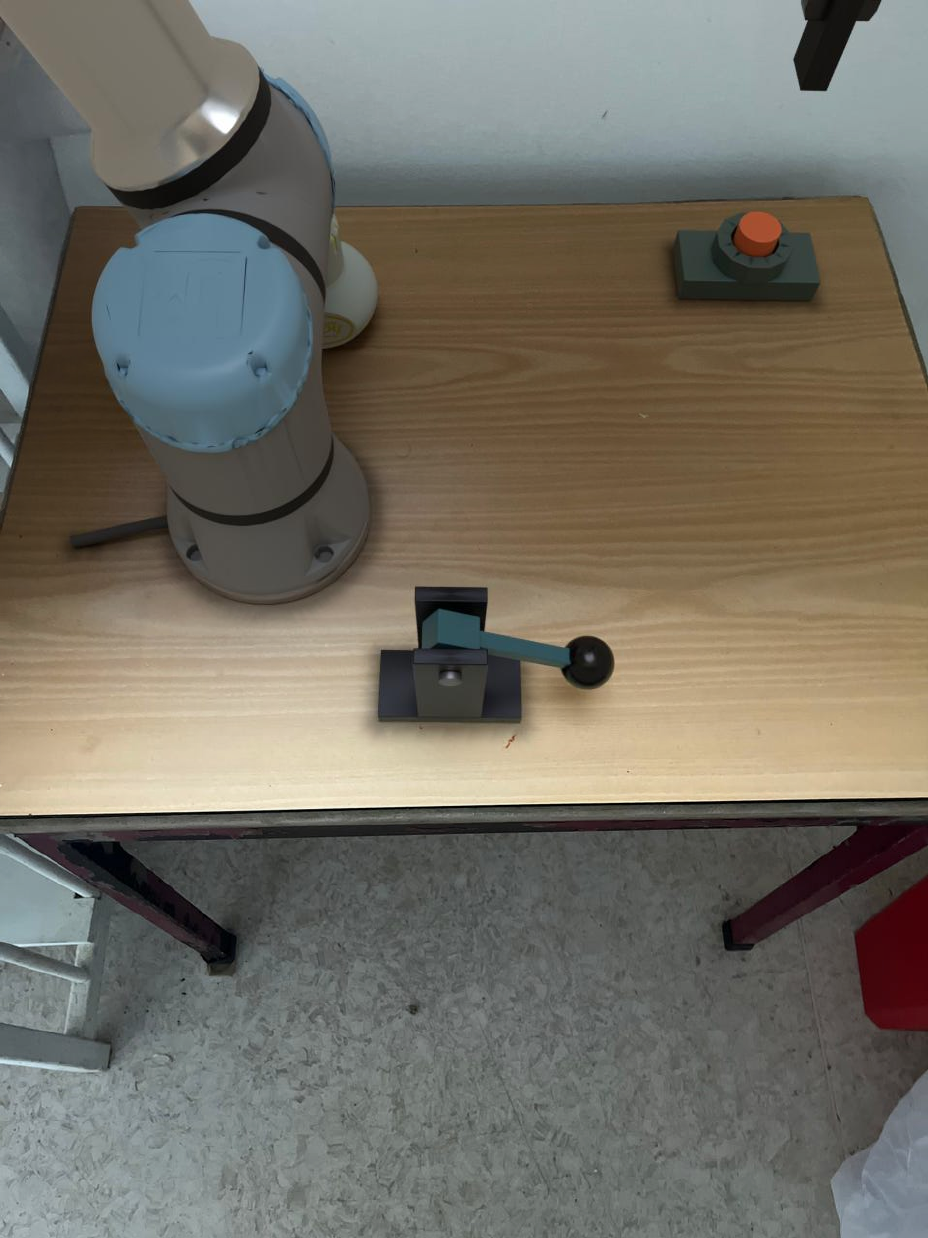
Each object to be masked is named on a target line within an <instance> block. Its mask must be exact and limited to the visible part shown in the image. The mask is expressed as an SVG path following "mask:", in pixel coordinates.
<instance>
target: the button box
mask: <svg viewBox="0 0 928 1238" xmlns="http://www.w3.org/2000/svg"><path fill="white" fill-rule="evenodd" d="M748 213H749V212H747V211H746V212H739V213H736V214H734V215H731V216H729V217H727V218H725V219H724V220H723V221H722V223H721V224H720V226H719V228H718V229H717V230H693V229H692V230H691V229H690V230H688V229H678V230H677V233H676V235H675V239H674V242H673V245H672V249H671V250H672V257H673V267H674V275H675V283H676V289H677V298H678V299H681V300H735V301H736V300H739V301H741V300H742V301H785V302H786V301H787V302H788V301H789V302H791V301H793V302H794V301H795V302H812V300H813V298H814V297H815V294H816V292H817V290H818V288H819V287H820V285H821V277H820V272H819V269H818V264H817V259H816V254H815V251H814V245H813V240H812V235H811V233H810V232H795V231H794V232H793V231H792V232H791V231H790V230H789V229H788V228H787V227H785V225H784V224H783V223H782V222H781V221H780V220H778V219H777V220H778V221H779V223H780V225H781V229H782V230H781V234H780V237H779V239H778V241H777V243H776V246H775V248H774V250H773V252H772V253H771V254H769V255H768V256H766V257H750V256H747V255H745V254H743V253H740V252H739V251H738V250H737V249H736V247H735V245H734V242H733V239H734V235H735V233H736V230H737V227H738V225H739V222H740V220H741V218H742V217H743V216H744V215H746V214H748Z"/></svg>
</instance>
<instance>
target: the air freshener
mask: <svg viewBox="0 0 928 1238" xmlns="http://www.w3.org/2000/svg"><path fill="white" fill-rule="evenodd" d="M378 299H379V287H378V282H377V278H376V275H375V272H374V270H373V268H372V267H371V264H370V263H369V262H368V260H367V259H366V258H365V257H364V255H363V254H361V252H359V251H358V250H357V249H356V248H355V247H353V246H352V245H350V244H348V243H347V242H346V241H342V240H341V233H340V227H339V222H338V219H337V217H336V215H335V214H333V218H332V220H331V232H330V243H329V256H328V271H327V286H326V298H325V308H324V326H323V343H322V350H325V349H331V348H335V347H339V346H341V345H344V344H346V343H348V342H350V341H351V340H353V339H354V338H356V337H357V336H358V335H359V334H360V333H362V331H363V330H364V329H365V328H366V327H367V326H368V325H369V323H370V321H371V319H372V318H373V316H374V314H375V311H376V308H377V304H378Z"/></svg>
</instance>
